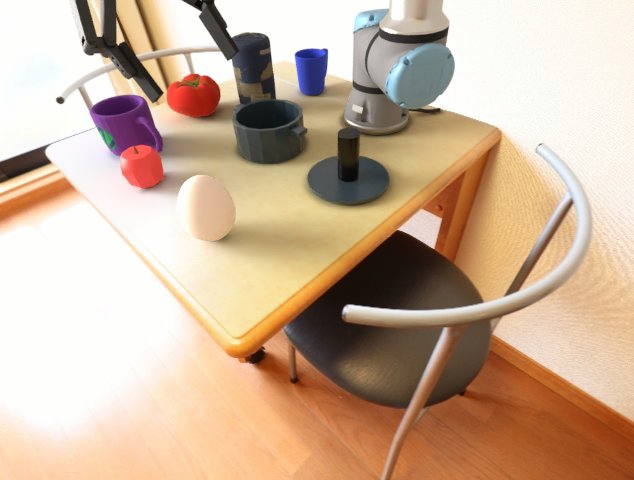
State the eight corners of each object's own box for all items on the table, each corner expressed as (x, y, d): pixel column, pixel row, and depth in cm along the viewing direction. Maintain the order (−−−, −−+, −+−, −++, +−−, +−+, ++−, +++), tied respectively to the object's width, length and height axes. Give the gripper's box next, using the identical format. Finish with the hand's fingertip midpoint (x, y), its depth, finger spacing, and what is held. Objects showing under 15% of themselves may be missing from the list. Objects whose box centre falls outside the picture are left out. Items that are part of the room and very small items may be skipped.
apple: (121, 182, 74) (104, 146, 68) (158, 166, 78) (144, 131, 72) (139, 198, 70) (121, 162, 64) (176, 180, 73) (163, 144, 68)
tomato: (186, 131, 88) (175, 95, 82) (165, 114, 95) (154, 79, 89) (236, 113, 94) (229, 78, 88) (213, 98, 101) (205, 65, 95)
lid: (340, 151, 79) (341, 105, 72) (404, 176, 71) (411, 128, 64) (291, 185, 71) (285, 137, 63) (356, 218, 63) (359, 167, 56)
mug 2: (339, 84, 105) (339, 46, 98) (316, 100, 98) (315, 60, 91) (314, 79, 108) (313, 42, 102) (291, 94, 101) (288, 55, 94)
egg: (225, 211, 66) (210, 155, 58) (250, 237, 61) (237, 179, 53) (180, 233, 62) (156, 177, 54) (203, 262, 57) (181, 204, 49)
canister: (256, 98, 100) (244, 24, 88) (284, 104, 97) (277, 28, 84) (233, 112, 95) (217, 35, 82) (263, 119, 91) (251, 40, 78)
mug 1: (99, 151, 83) (77, 109, 76) (141, 130, 89) (125, 89, 82) (146, 174, 75) (127, 129, 68) (189, 150, 82) (175, 106, 75)
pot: (264, 121, 90) (260, 90, 85) (327, 146, 81) (326, 113, 76) (217, 145, 83) (209, 113, 78) (281, 176, 73) (276, 142, 68)
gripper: (154, -96, 50) (247, 52, 58) (-42, -54, 37) (112, 129, 45) (172, -143, 44) (272, 28, 52) (-52, -113, 31) (126, 109, 39)
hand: (198, 76), depth 49 cm, fingers open, 13 cm apart
